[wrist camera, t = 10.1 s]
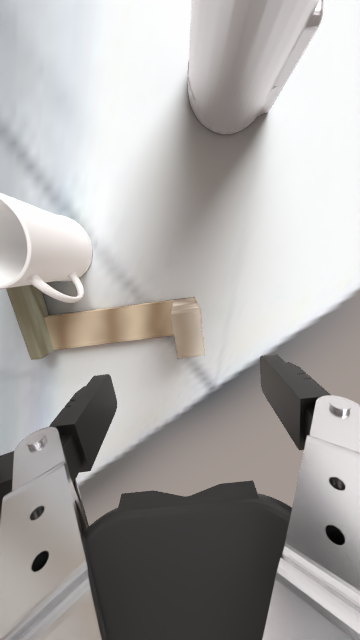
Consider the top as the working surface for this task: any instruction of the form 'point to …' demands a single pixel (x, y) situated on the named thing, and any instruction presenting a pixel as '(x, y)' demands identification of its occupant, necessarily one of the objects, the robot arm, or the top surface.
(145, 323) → the bracket
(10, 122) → the top surface
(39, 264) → the mug
